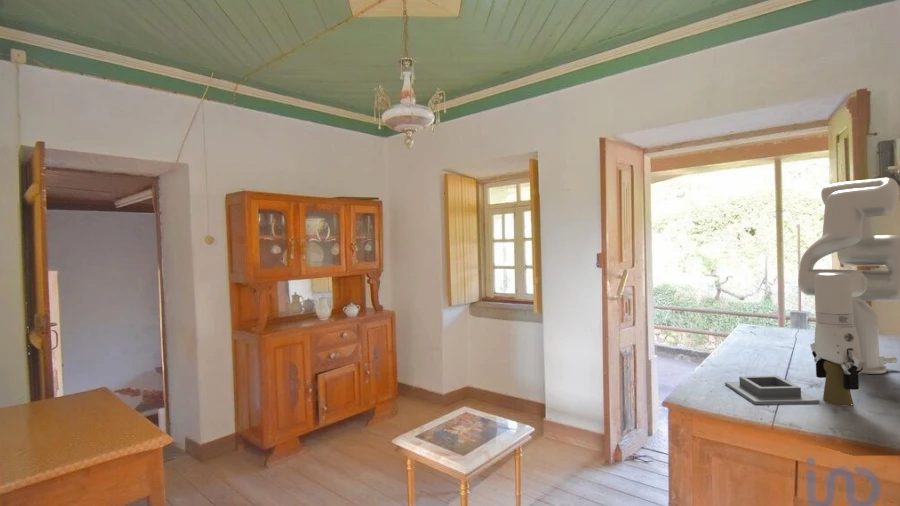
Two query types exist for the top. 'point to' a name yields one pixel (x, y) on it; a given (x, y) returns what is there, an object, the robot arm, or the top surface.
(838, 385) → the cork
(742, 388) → the bay base
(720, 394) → the top surface
